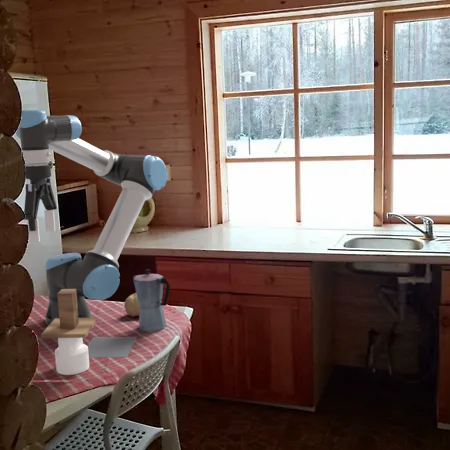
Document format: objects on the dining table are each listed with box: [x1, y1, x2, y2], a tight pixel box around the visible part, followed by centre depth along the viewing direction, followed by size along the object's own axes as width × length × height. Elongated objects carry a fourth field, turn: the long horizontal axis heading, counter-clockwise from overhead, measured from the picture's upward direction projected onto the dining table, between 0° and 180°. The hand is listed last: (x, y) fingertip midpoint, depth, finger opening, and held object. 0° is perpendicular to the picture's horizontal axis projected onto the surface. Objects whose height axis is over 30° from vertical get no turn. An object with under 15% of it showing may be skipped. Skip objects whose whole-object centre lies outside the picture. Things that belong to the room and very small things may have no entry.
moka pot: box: [132, 268, 171, 333], centre depth 191 cm, size 10×15×20 cm, turn 59°
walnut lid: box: [40, 289, 98, 339], centre depth 161 cm, size 12×12×11 cm
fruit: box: [124, 292, 140, 317], centre depth 204 cm, size 8×8×8 cm
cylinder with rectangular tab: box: [54, 338, 90, 376], centre depth 163 cm, size 9×9×12 cm
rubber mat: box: [87, 336, 138, 359], centre depth 178 cm, size 15×14×1 cm
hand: (43, 236), depth 174 cm, fingers open, 13 cm apart
